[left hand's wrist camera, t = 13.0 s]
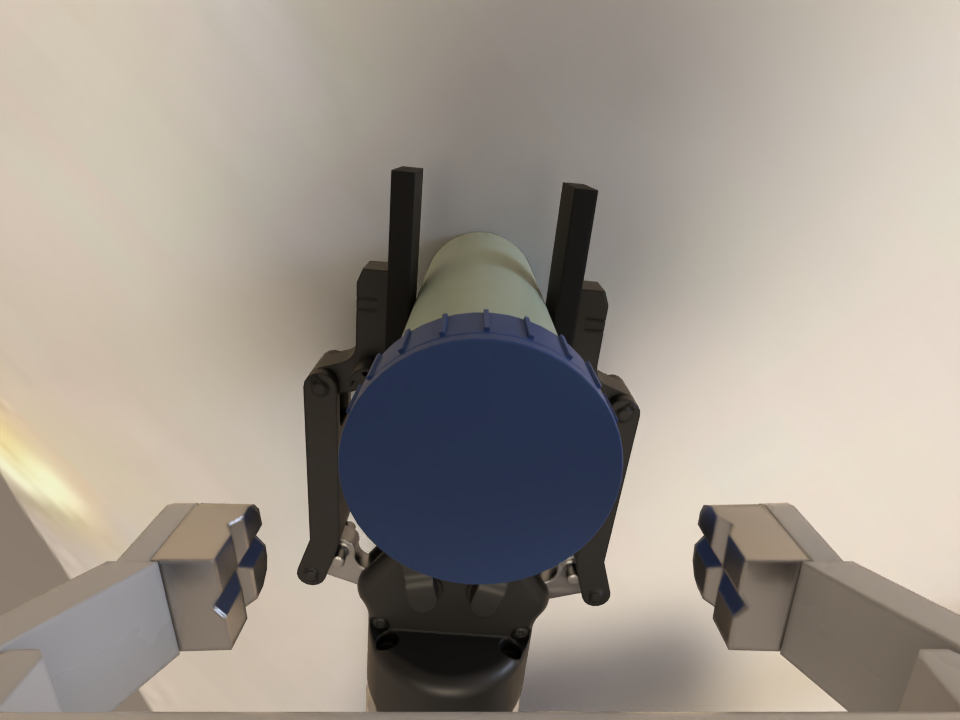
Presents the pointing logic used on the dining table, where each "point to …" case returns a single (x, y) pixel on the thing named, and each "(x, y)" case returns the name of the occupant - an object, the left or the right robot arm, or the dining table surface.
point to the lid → (480, 450)
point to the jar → (479, 282)
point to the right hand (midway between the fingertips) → (494, 179)
